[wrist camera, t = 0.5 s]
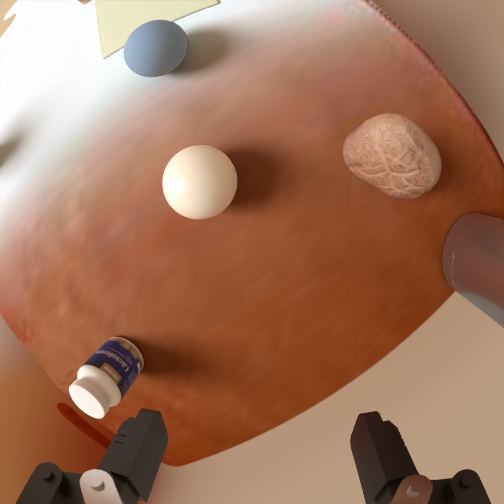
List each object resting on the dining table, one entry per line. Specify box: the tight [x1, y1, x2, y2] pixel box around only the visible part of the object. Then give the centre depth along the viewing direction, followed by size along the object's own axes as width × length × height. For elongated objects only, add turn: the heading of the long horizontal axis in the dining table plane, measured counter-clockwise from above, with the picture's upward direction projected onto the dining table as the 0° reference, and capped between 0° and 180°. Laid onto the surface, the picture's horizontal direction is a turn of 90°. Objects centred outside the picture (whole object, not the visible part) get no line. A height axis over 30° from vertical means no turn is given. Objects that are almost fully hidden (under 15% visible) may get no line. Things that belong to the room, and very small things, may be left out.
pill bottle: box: [69, 337, 144, 418], centre depth 25 cm, size 6×6×10 cm
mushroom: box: [342, 113, 442, 199], centre depth 18 cm, size 8×6×8 cm
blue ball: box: [124, 20, 188, 77], centre depth 18 cm, size 6×6×6 cm
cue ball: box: [163, 145, 237, 219], centre depth 21 cm, size 6×6×6 cm
